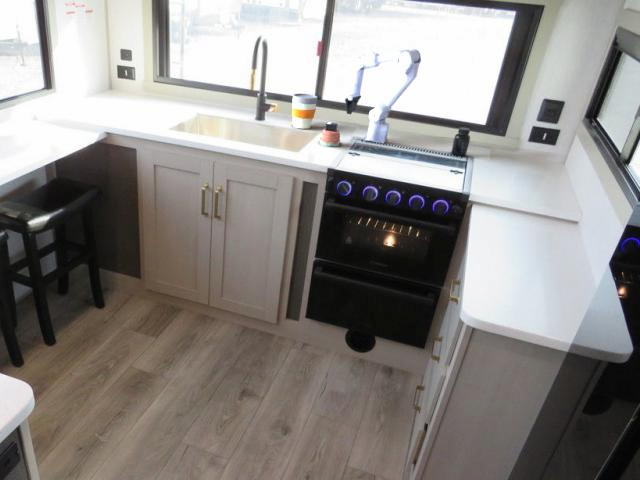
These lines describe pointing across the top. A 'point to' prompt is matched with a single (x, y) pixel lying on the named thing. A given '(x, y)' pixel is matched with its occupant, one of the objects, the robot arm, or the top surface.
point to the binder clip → (331, 126)
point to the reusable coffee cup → (303, 110)
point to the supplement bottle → (461, 142)
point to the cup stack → (330, 138)
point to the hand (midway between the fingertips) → (350, 112)
